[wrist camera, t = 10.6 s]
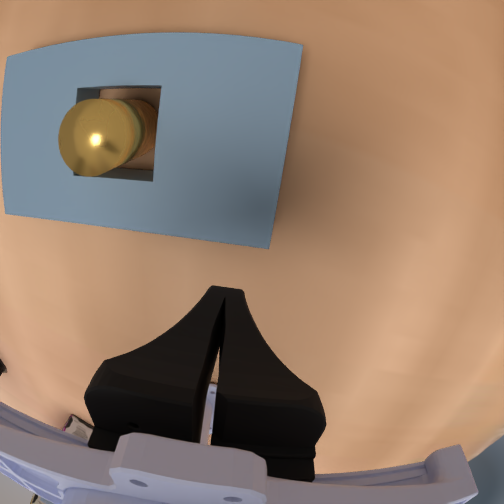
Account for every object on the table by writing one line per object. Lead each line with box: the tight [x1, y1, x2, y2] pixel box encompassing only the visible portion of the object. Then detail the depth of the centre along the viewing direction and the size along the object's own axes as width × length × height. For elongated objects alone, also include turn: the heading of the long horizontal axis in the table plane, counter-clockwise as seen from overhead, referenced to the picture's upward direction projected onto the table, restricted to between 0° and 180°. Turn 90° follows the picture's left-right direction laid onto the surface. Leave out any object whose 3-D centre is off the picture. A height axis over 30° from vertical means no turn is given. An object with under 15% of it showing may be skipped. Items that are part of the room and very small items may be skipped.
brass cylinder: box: [58, 99, 158, 177], centre depth 16 cm, size 4×4×6 cm
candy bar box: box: [30, 415, 94, 504], centre depth 28 cm, size 11×5×16 cm, turn 142°
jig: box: [1, 33, 303, 249], centre depth 17 cm, size 12×20×3 cm, turn 82°
